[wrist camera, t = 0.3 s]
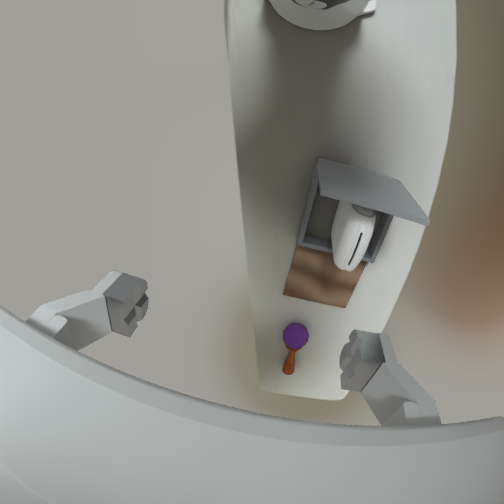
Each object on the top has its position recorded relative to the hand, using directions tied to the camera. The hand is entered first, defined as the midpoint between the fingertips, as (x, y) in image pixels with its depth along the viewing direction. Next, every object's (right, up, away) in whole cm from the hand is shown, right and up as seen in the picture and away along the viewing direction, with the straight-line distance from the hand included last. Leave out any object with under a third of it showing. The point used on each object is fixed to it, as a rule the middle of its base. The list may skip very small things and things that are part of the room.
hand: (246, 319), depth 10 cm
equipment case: (+17, +10, +37) cm, 42 cm away
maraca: (+11, -21, +59) cm, 64 cm away
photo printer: (+17, +10, +37) cm, 42 cm away
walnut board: (+15, -3, +45) cm, 48 cm away
